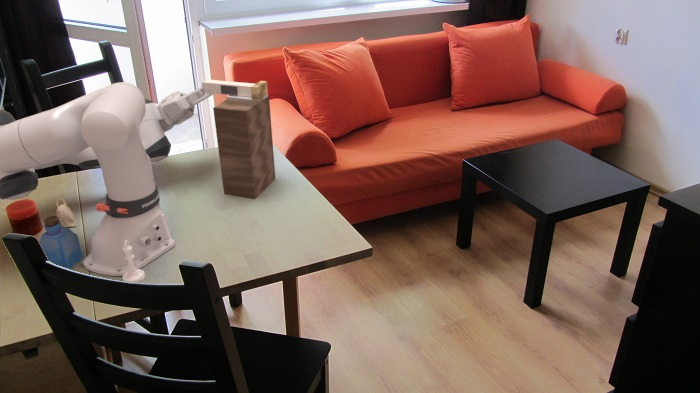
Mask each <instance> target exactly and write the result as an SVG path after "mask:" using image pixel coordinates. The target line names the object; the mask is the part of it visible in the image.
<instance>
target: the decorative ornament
mask: <svg viewBox="0 0 700 393" xmlns="http://www.w3.org/2000/svg"><path fill="white" fill-rule="evenodd" d="M60 201H62V202H63V204H60V205H59V202H60ZM55 206H56V209H55V214H56V215H55V216H57V217H58V218H59V221H60V222H61V225H62V226H61V227H62V228H71V227H73V228H74V227H77V220H76V215H75V214H74V212H73V211H72V210H71V208H70V207H69V206H67V202H66V200H65V199H64V198H58V199H57V200H56V202H55Z"/></svg>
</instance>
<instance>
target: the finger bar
mask: <svg viewBox="0 0 700 393" xmlns="http://www.w3.org/2000/svg"><path fill="white" fill-rule="evenodd" d="M255 84H256V83H254V82H253V83H250V82H242V81H241V82H238V81H231V80H230V81H228V80H217V79H206V80H204V81H202V82H201V85H202V86H201V87H203V91H204V93H215V94H216V95H225V96H229V95H235V96H245V97H252V94H251V86H253V85H255ZM215 94H214V95H215Z"/></svg>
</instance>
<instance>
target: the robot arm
mask: <svg viewBox="0 0 700 393" xmlns="http://www.w3.org/2000/svg"><path fill="white" fill-rule="evenodd" d="M213 95H215V93H204V91H203V87H202V86H200V87H198V88H196V89H195V90H193V91H191V92H189V93H185V92H181V91H173V92H172V93H170V94H169V95H168V96H165V97H164V98H163V99H162V100H161V101H160V102H157V103H156V101H153V100H152V99H151V100H150V99H146V98H145V96H144V94H143V92H142V91H141V89H139V87H137V86H136V85H134V84H133V83H130V82H126V81H121V82H120V81H119V82H114V83H111V84H110V85H107V86H105V87H102V88H99V89H97V90H94V91H92V92H91V91H90V92H89V93H87V94H85V95H81V96H80V97H77V98H75V99H73V100H70V101H68V102H66V103H64V104H61V105H59V106H57V107H54V108H51V109H49V110H48V109H47V110H45V111H41V112H39V113H36V114H33V115H30V116H26V117H24V118H20V119H17V120H16V119H15V117H14V116H13V115H12V114H11V112H9V111H6V110H4V109H0V200H7V201H8V200H10V201H12V200H13V201H14V200H19V199H23V198H25V197H27V196H28V195H30V194H32V193H33V192H34V191H35V190H37V188H38V186H39V177H38V172H36V171H35V170H40V169H45V168H50V167H53V166H58V165H62V164H70V165H76V166H78V167H79V168H81V169H82V170H97V169H98V170H99V169H100V170H101V172H102V178H103V182H104V186H105V190H106V195H105V196H106V197H105V203H102V202H98V203H96V205H95V210H96V211H97V212H102V213H104V215H103V217H102V219H101V221H100V222H99V225H98V226H97V228H96V229H95V232H94V233H93V235H92V237H91V239H90V253H89V254H88V255H86V257H85V258H84V259H83V260H82V265H83V267H84V268H85V269H86V270H88V271H90V272H93V273H95V274H100V275H104V276H112V277H113V276H114V277H123V275H124V274H125V273H127V272H128V271H129V268H128V260H126V259H125V256H126V254H125V252H124V251H123V248H124V244H125V242H124V241H125V240H127V241H129V243H128V246H132V253H131V254H133V255H134V256H135V257H134V258H133V259H132V260H133V262H134V265H135V267H136V269H142V268H143V267H145V266H147V265H148V264H149V263H151V262H152V261H154V260H155V259H157V258H159V257H160V256H162V255H164V254H166V253H167V251H169V250H171V249H173V248H174V247H175V246H176V242H175V240H174V238H173V236H172V232H171V230H170V229H169V226H168V223H167V220H166V216H165V214H164V213H165V212H164V211H163V209H162V207H161V205H160V201H161V198H160V191H159V188H158V186H157V184H156V183H155V176H154V172H153V167H152V164H154V163H158V162H160V161H163V160H164V159H166V158H168V156H169V154H170V151H171V148H172V144H171V142H170V141H169V138H168V136H167V135H166V134H165V133H166V132H168V131H170V130H172V129H173V128H174V127H175V126H179V125H181V124H183V123H184V122H185V121H187V120H189V119H191V118H192V117H193V116H194V112H195V107H196V105H198V104H200V103H202V102H203V101H205V100H207V99H208V98H210V97H212V96H213Z"/></svg>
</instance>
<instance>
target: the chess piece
mask: <svg viewBox="0 0 700 393" xmlns="http://www.w3.org/2000/svg"><path fill="white" fill-rule="evenodd" d="M124 242H125V244H124V248H123V251H124V252H125V254H126V256H125V259H126V260H128V268H129V271H128V272H127V273H125V274H124V275H123V276H122V281H123V282H124V281H130V282H136V283H139V282H141V281H142V280H143V279H144V278H145V277H146V273H145V271H144V270H143V269H142V268H140V269H136V267H135V265H134V262H133V260H132V259H133V258H134V257H135V256H134V255H133V254H131V253H132V246H128V243H129V241H127V240H125V241H124Z"/></svg>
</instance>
